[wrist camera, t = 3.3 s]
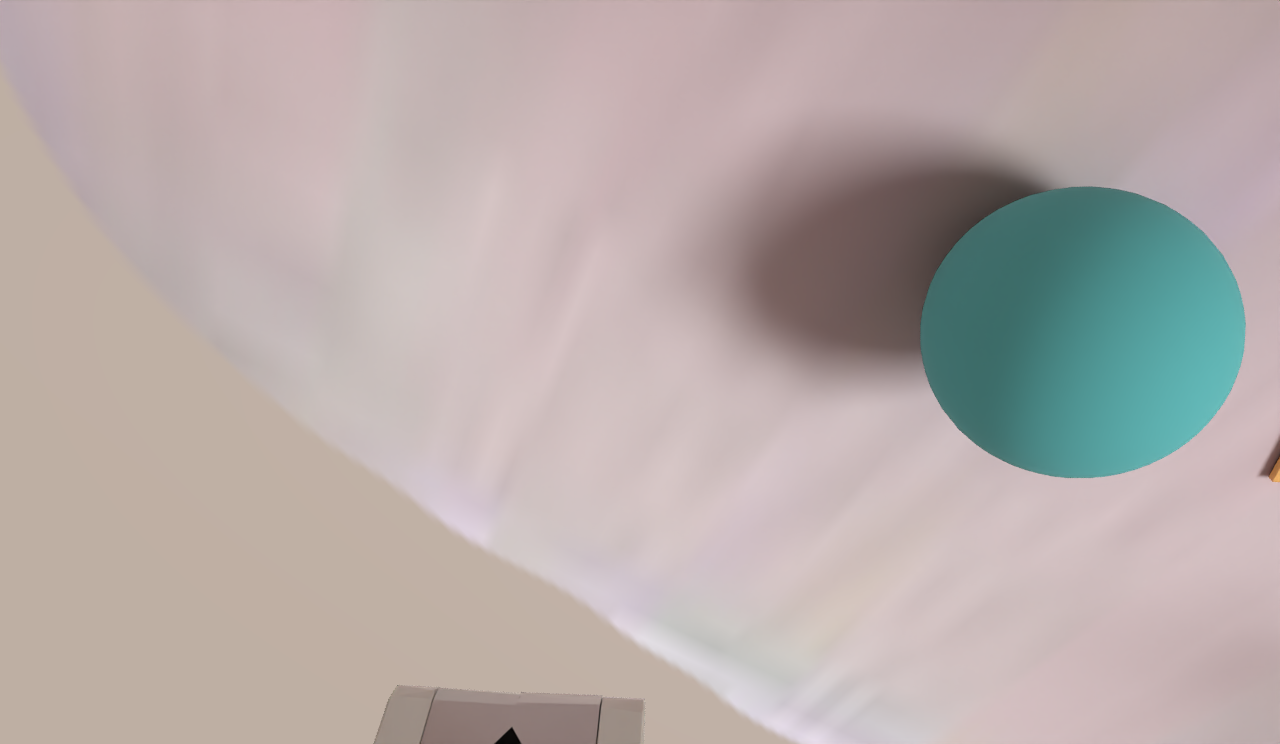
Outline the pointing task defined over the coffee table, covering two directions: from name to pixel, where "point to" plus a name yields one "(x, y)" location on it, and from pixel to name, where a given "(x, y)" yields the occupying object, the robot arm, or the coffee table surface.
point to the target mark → (1275, 472)
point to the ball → (1082, 332)
